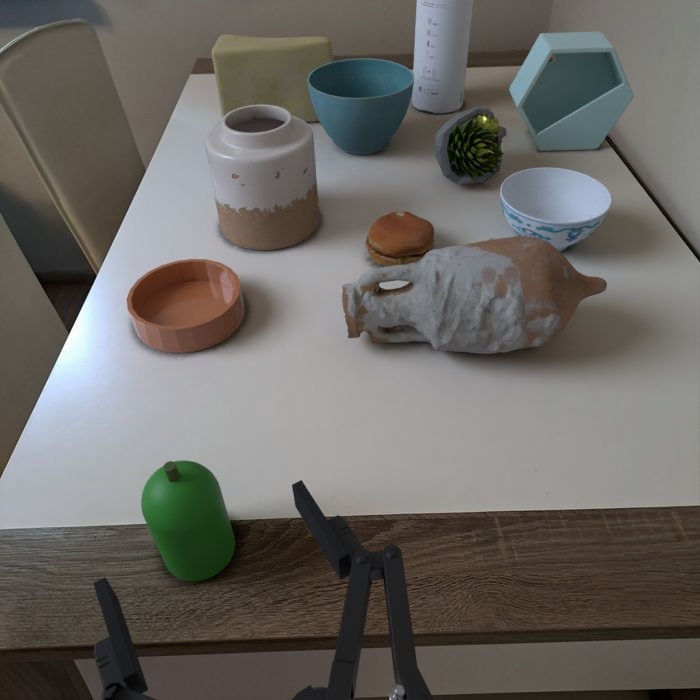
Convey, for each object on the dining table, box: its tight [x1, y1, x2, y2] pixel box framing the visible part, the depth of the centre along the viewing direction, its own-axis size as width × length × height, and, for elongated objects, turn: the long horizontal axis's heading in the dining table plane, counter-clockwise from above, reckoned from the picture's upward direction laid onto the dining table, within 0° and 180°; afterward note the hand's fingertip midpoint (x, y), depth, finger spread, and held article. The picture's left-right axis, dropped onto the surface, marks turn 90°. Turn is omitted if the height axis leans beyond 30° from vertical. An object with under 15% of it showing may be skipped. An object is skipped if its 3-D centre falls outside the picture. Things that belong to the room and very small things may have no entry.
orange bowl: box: [126, 258, 246, 354], centre depth 83 cm, size 14×14×4 cm
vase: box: [204, 104, 320, 251], centre depth 94 cm, size 15×15×17 cm
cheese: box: [211, 33, 335, 123], centre depth 122 cm, size 22×10×15 cm, turn 87°
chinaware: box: [499, 166, 613, 253], centre depth 92 cm, size 15×15×8 cm
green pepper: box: [140, 459, 236, 582], centre depth 56 cm, size 7×7×13 cm
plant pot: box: [307, 57, 414, 155], centre depth 114 cm, size 18×18×12 cm
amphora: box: [341, 236, 608, 354], centre depth 76 cm, size 14×16×30 cm
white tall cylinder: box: [411, 0, 474, 115], centre depth 121 cm, size 11×10×26 cm
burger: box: [365, 210, 435, 267], centre depth 92 cm, size 10×9×5 cm
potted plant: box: [433, 106, 508, 186], centre depth 104 cm, size 12×13×15 cm
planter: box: [508, 30, 635, 152], centre depth 111 cm, size 17×8×21 cm
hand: (207, 538), depth 43 cm, fingers open, 13 cm apart
